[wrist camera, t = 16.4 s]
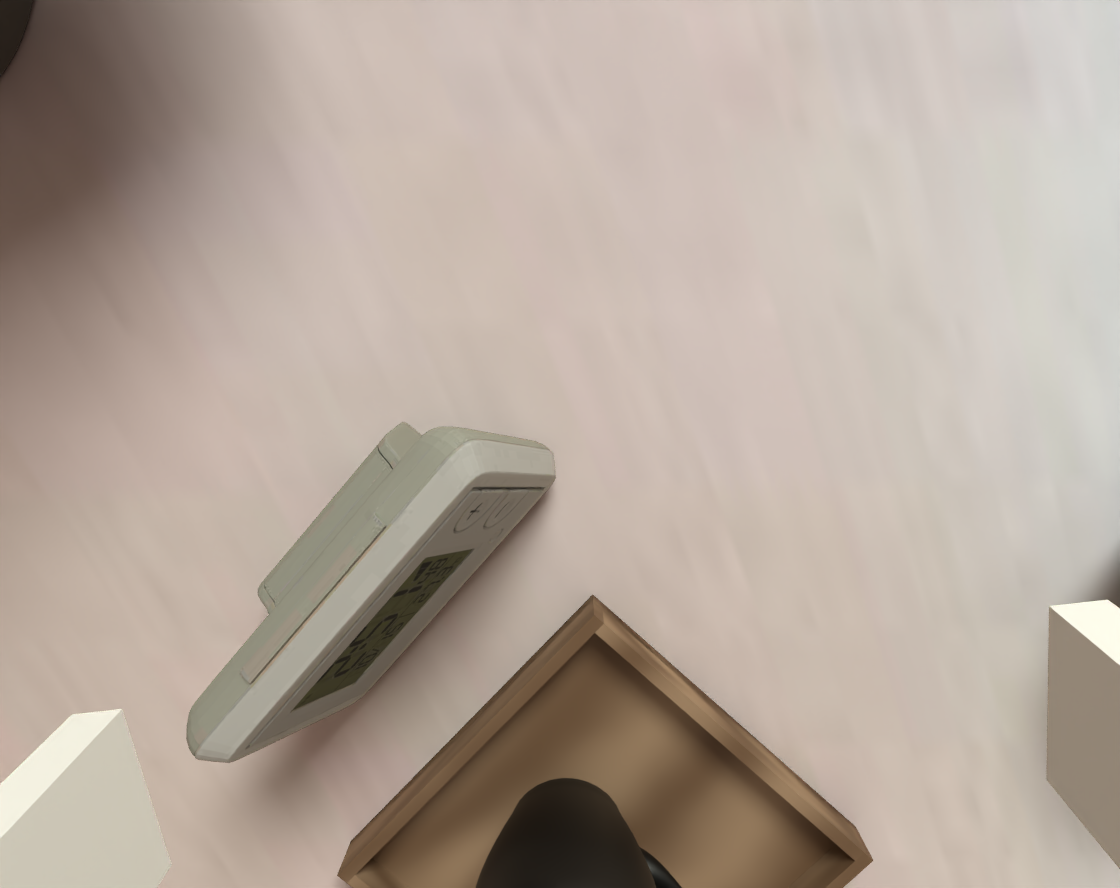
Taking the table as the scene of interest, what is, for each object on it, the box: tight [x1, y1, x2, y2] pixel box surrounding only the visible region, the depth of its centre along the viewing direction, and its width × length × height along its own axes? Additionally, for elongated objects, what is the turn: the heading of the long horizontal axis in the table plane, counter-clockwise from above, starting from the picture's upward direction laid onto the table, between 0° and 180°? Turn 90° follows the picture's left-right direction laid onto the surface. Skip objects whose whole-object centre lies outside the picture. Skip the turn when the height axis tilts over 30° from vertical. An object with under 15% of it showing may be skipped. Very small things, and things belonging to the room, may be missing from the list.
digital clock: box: [186, 422, 556, 763], centre depth 34 cm, size 16×9×11 cm, turn 128°
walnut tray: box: [337, 595, 873, 888], centre depth 40 cm, size 18×18×2 cm
